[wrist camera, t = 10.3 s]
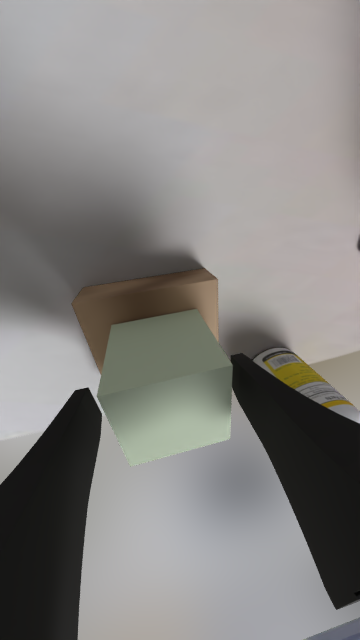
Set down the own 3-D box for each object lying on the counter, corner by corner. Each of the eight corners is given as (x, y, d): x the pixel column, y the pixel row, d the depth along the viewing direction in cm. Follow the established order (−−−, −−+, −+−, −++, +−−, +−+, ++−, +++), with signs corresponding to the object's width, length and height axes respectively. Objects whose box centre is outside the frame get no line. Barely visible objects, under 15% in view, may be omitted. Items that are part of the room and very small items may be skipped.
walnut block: (202, 266, 14) (217, 279, 11) (207, 355, 18) (218, 379, 15) (84, 285, 13) (71, 303, 10) (116, 374, 17) (113, 403, 14)
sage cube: (196, 308, 12) (232, 365, 7) (201, 370, 14) (229, 439, 10) (111, 325, 11) (96, 396, 7) (131, 386, 14) (130, 466, 9)
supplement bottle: (263, 394, 21) (345, 515, 13) (232, 374, 19) (308, 506, 10) (304, 361, 20) (426, 471, 11) (276, 335, 18) (405, 450, 9)
